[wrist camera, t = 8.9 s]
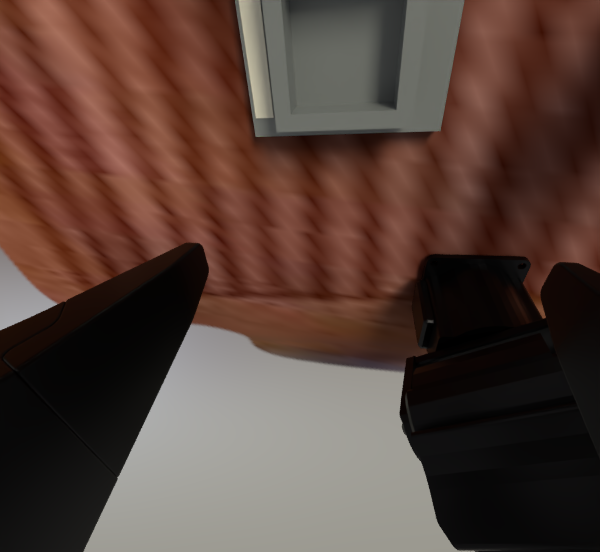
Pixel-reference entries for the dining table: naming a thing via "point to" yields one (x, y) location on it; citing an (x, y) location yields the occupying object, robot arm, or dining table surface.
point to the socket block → (348, 64)
